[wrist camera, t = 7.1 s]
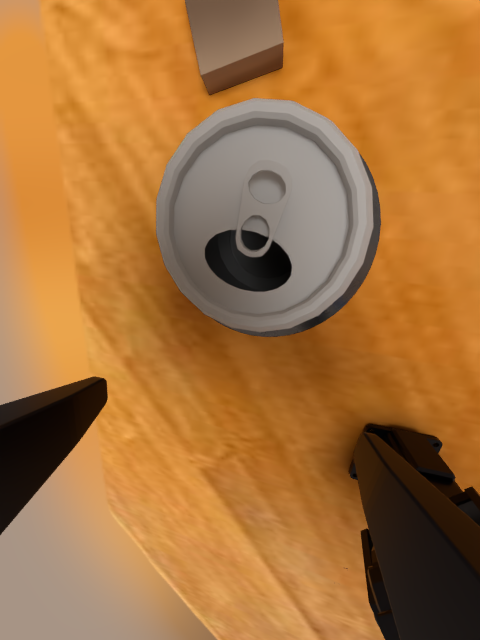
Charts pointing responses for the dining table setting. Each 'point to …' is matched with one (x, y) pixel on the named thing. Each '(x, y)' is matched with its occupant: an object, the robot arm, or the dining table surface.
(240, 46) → the walnut block
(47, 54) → the dining table surface
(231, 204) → the can
